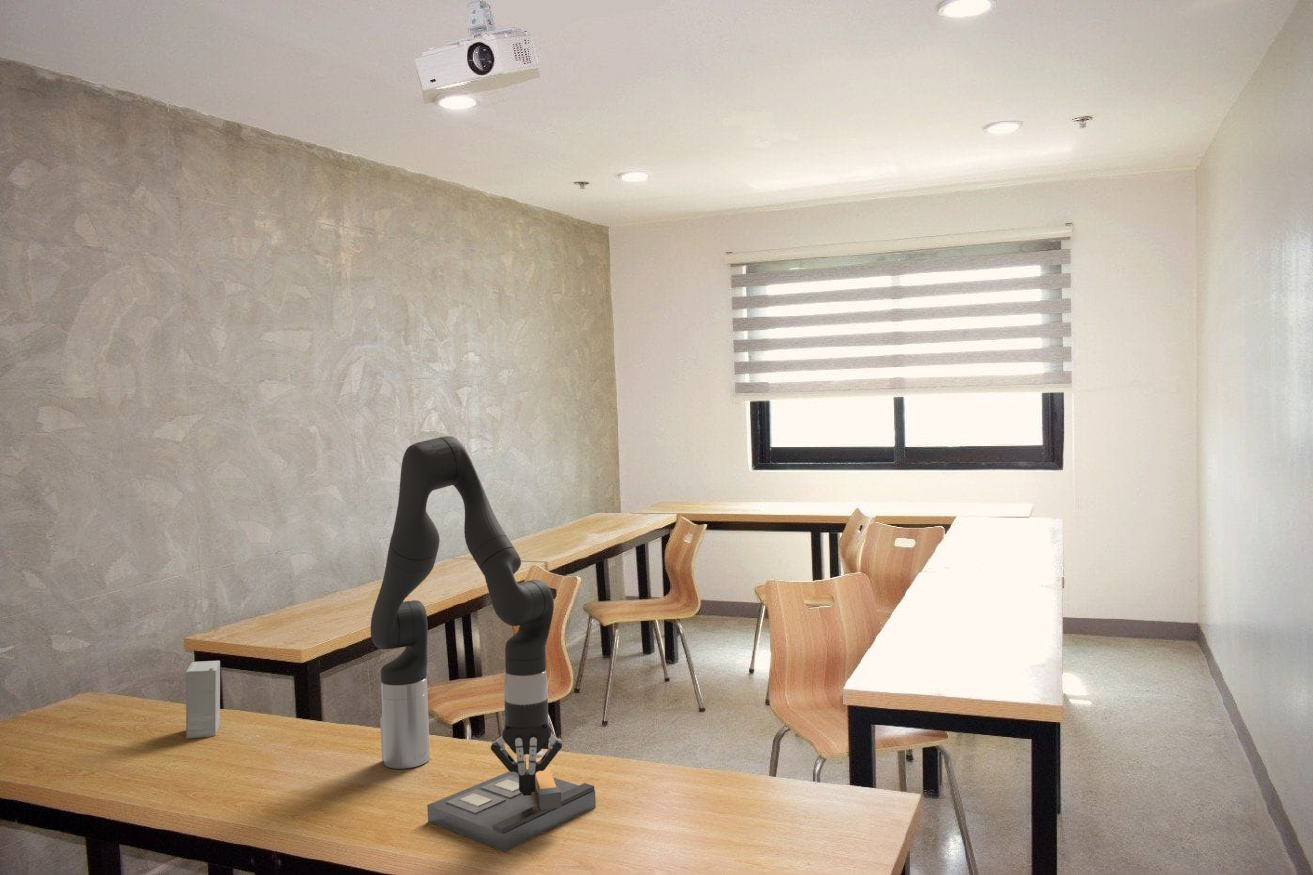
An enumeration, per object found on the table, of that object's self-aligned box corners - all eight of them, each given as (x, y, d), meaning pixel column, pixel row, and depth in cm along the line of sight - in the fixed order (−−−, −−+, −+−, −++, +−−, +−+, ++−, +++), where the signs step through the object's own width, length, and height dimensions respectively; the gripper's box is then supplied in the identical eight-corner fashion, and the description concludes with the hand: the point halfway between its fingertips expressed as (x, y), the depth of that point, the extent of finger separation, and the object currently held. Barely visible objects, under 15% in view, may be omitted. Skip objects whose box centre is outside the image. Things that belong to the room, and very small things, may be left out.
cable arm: (540, 810, 164) (539, 793, 164) (527, 767, 184) (526, 752, 184) (561, 808, 165) (560, 790, 165) (545, 765, 185) (545, 749, 185)
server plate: (427, 821, 171) (427, 799, 171) (521, 781, 188) (520, 762, 188) (503, 852, 159) (503, 828, 158) (596, 806, 176) (595, 785, 176)
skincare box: (190, 728, 227) (187, 661, 226) (224, 724, 229) (221, 658, 229) (184, 740, 219) (181, 670, 218) (219, 736, 221) (216, 667, 221)
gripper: (485, 703, 165) (487, 804, 165) (563, 701, 166) (564, 801, 166) (490, 690, 172) (491, 786, 173) (564, 688, 173) (566, 784, 174)
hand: (527, 793), depth 170 cm, fingers closed
